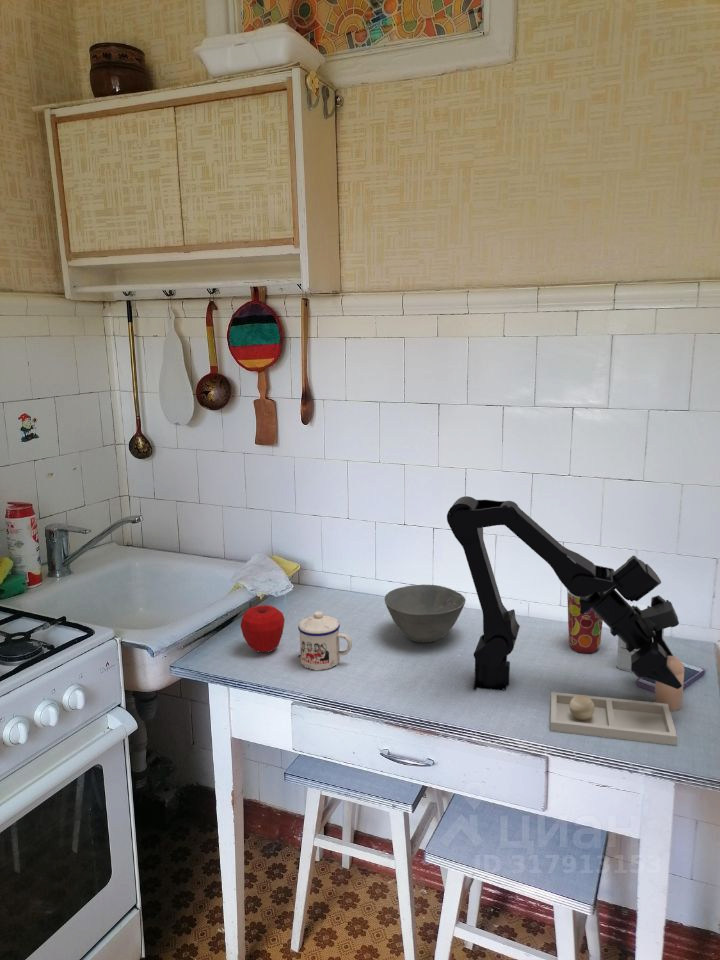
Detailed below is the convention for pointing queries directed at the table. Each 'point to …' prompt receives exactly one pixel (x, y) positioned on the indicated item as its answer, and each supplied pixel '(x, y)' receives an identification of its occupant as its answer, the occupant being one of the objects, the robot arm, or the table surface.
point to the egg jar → (669, 693)
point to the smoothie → (583, 627)
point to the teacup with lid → (321, 641)
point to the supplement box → (623, 653)
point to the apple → (262, 627)
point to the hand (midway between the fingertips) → (677, 675)
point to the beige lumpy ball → (581, 707)
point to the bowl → (424, 610)
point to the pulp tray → (616, 719)
